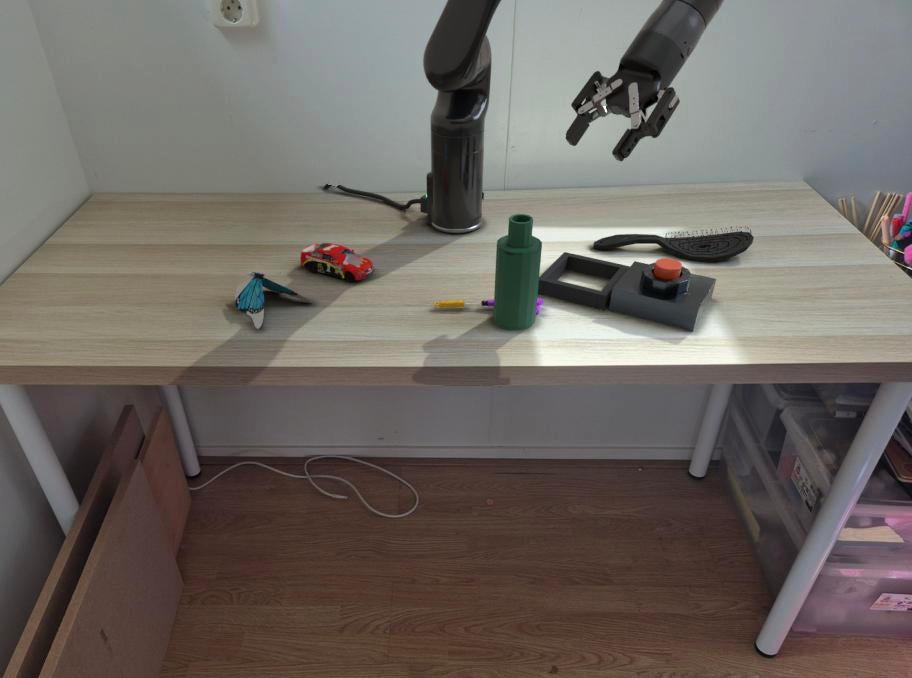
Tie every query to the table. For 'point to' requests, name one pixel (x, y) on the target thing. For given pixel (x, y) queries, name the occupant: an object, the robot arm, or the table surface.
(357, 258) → the race car
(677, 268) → the button
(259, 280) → the decorative butterfly
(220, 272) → the table surface
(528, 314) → the vase
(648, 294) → the panel with orange knob
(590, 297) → the dock
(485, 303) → the purple yellow slender tool
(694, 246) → the hairbrush
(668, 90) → the robot arm
